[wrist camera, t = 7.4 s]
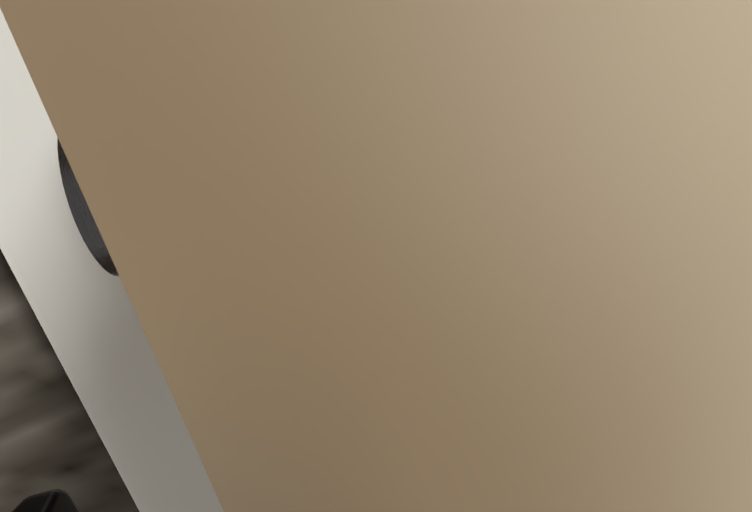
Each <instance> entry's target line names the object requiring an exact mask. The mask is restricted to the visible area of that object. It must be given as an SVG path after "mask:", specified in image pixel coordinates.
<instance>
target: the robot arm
mask: <svg viewBox="0 0 752 512" xmlns="http://www.w3.org/2000/svg"><path fill="white" fill-rule="evenodd" d="M12 512H80V511H79V510H78V508H77V506H76V505H75V503H74V501H73V500H72V498H71V496H70V495H69V494H68V493H67V492H66V491H65V490H62V489H55V490H51V491H47V492H43V493H39V494H35V495H32V496H29V497H27V498H26V499H24V500H23V501H22V502H21V503H20V504H19V505H18V506H17V507H16V508H15V509H14V510H13V511H12Z"/></svg>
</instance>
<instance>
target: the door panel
mask: <svg viewBox="0 0 752 512" xmlns="http://www.w3.org/2000/svg"><path fill="white" fill-rule="evenodd" d="M0 9H1V11H2V13H3V15H4V18H5V20H6V22H7V24H8V27H9V29H10V31H11V33H12V36H13V38H14V40H15V42H16V45H17V47H18V49H19V51H20V54H21V56H22V58H23V60H24V63H25V65H26V67H27V69H28V72H29V74H30V76H31V78H32V81H33V83H34V85H35V87H36V90H37V92H38V94H39V96H40V99H41V101H42V103H43V105H44V108H45V110H46V112H47V114H48V117H49V119H50V121H51V123H52V126H53V128H54V130H55V132H56V135H57V137H58V138H57V149H58V160H59V167H60V173H61V178H62V183H63V187H64V191H65V194H66V198H67V201H68V204H69V207H70V210H71V213H72V216H73V218H74V221H75V223H76V225H77V228H78V230H79V232H80V234H81V236H82V238H83V240H84V242H85V244H86V246H87V247H88V249H89V251H90V252H91V254H92V255H93V257H94V258H95V259H96V261H97V262H98V263H99V264H100V266H101V267H102V268H103V269H104V270H106V271H107V272H108V273H110V274H112V275H114V276H120V279H121V281H122V283H123V285H124V288H125V290H126V292H127V294H128V297H129V299H130V301H131V303H132V306H133V308H134V310H135V312H136V315H137V317H138V319H139V322H140V324H141V326H142V328H143V331H144V333H145V335H146V337H147V340H148V342H149V344H150V346H151V349H152V351H153V353H154V355H155V358H156V360H157V362H158V364H159V367H160V369H161V371H162V373H163V376H164V378H165V380H166V382H167V385H168V387H169V389H170V391H171V394H172V396H173V398H174V400H175V403H176V405H177V407H178V409H179V412H180V414H181V416H182V418H183V421H184V423H185V425H186V427H187V430H188V432H189V434H190V436H191V439H192V441H193V443H194V445H195V448H196V450H197V452H198V454H199V457H200V459H201V461H202V463H203V466H204V468H205V470H206V472H207V475H208V477H209V479H210V481H211V484H212V486H213V488H214V490H215V493H216V495H217V497H218V499H219V502H220V504H221V506H222V508H223V511H224V512H752V0H0Z"/></svg>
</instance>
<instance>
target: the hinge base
mask: <svg viewBox="0 0 752 512" xmlns="http://www.w3.org/2000/svg"><path fill="white" fill-rule="evenodd" d="M57 138H58V137H57V135H56V132H55V130H54V128H53V126H52V123H51V121H50V119H49V117H48V114H47V112H46V110H45V108H44V105H43V103H42V101H41V99H40V96H39V94H38V92H37V90H36V87H35V85H34V83H33V81H32V78H31V76H30V74H29V72H28V69H27V67H26V65H25V63H24V60H23V58H22V56H21V54H20V51H19V49H18V47H17V45H16V42H15V40H14V38H13V36H12V33H11V31H10V29H9V27H8V24H7V22H6V20H5V18H4V15H3V13H2V11H1V9H0V249H1V251H2V253H3V255H4V256H5V258H6V260H7V262H8V264H9V266H10V268H11V270H12V272H13V273H14V275H15V277H16V279H17V281H18V283H19V285H20V287H21V289H22V290H23V292H24V294H25V296H26V298H27V300H28V302H29V304H30V306H31V307H32V309H33V311H34V313H35V315H36V317H37V319H38V321H39V323H40V324H41V326H42V328H43V330H44V332H45V334H46V336H47V338H48V340H49V341H50V343H51V345H52V347H53V349H54V351H55V353H56V355H57V357H58V358H59V360H60V362H61V364H62V366H63V368H64V370H65V372H66V374H67V375H68V377H69V379H70V381H71V383H72V385H73V387H74V389H75V391H76V392H77V394H78V396H79V398H80V400H81V402H82V404H83V406H84V408H85V409H86V411H87V413H88V415H89V417H90V419H91V421H92V423H93V425H94V426H95V428H96V430H97V432H98V434H99V436H100V438H101V440H102V442H103V443H104V445H105V447H106V449H107V451H108V453H109V455H110V457H111V459H112V461H113V462H114V464H115V466H116V468H117V470H118V472H119V474H120V476H121V478H122V479H123V481H124V483H125V485H126V487H127V489H128V491H129V493H130V495H131V496H132V498H133V500H134V502H135V504H136V506H137V508H138V510H139V512H224V511H223V508H222V506H221V504H220V502H219V499H218V497H217V495H216V493H215V490H214V488H213V486H212V484H211V481H210V479H209V477H208V475H207V472H206V470H205V468H204V466H203V463H202V461H201V459H200V457H199V454H198V452H197V450H196V448H195V445H194V443H193V441H192V439H191V436H190V434H189V432H188V430H187V427H186V425H185V423H184V421H183V418H182V416H181V414H180V412H179V409H178V407H177V405H176V403H175V400H174V398H173V396H172V394H171V391H170V389H169V387H168V385H167V382H166V380H165V378H164V376H163V373H162V371H161V369H160V367H159V364H158V362H157V360H156V358H155V355H154V353H153V351H152V349H151V346H150V344H149V342H148V340H147V337H146V335H145V333H144V331H143V328H142V326H141V324H140V322H139V319H138V317H137V315H136V312H135V310H134V308H133V306H132V303H131V301H130V299H129V297H128V294H127V292H126V290H125V288H124V285H123V283H122V281H121V279H120V276H114V275H112V274H110V273H108V272H107V271H106V270H104V269H103V268H102V267H101V266H100V264H99V263H98V262H97V261H96V259H95V258H94V257H93V255H92V254H91V252H90V251H89V249H88V247H87V246H86V244H85V242H84V240H83V238H82V236H81V234H80V232H79V230H78V228H77V225H76V223H75V221H74V218H73V216H72V213H71V210H70V207H69V204H68V201H67V198H66V194H65V191H64V187H63V183H62V178H61V173H60V167H59V160H58V149H57Z"/></svg>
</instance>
